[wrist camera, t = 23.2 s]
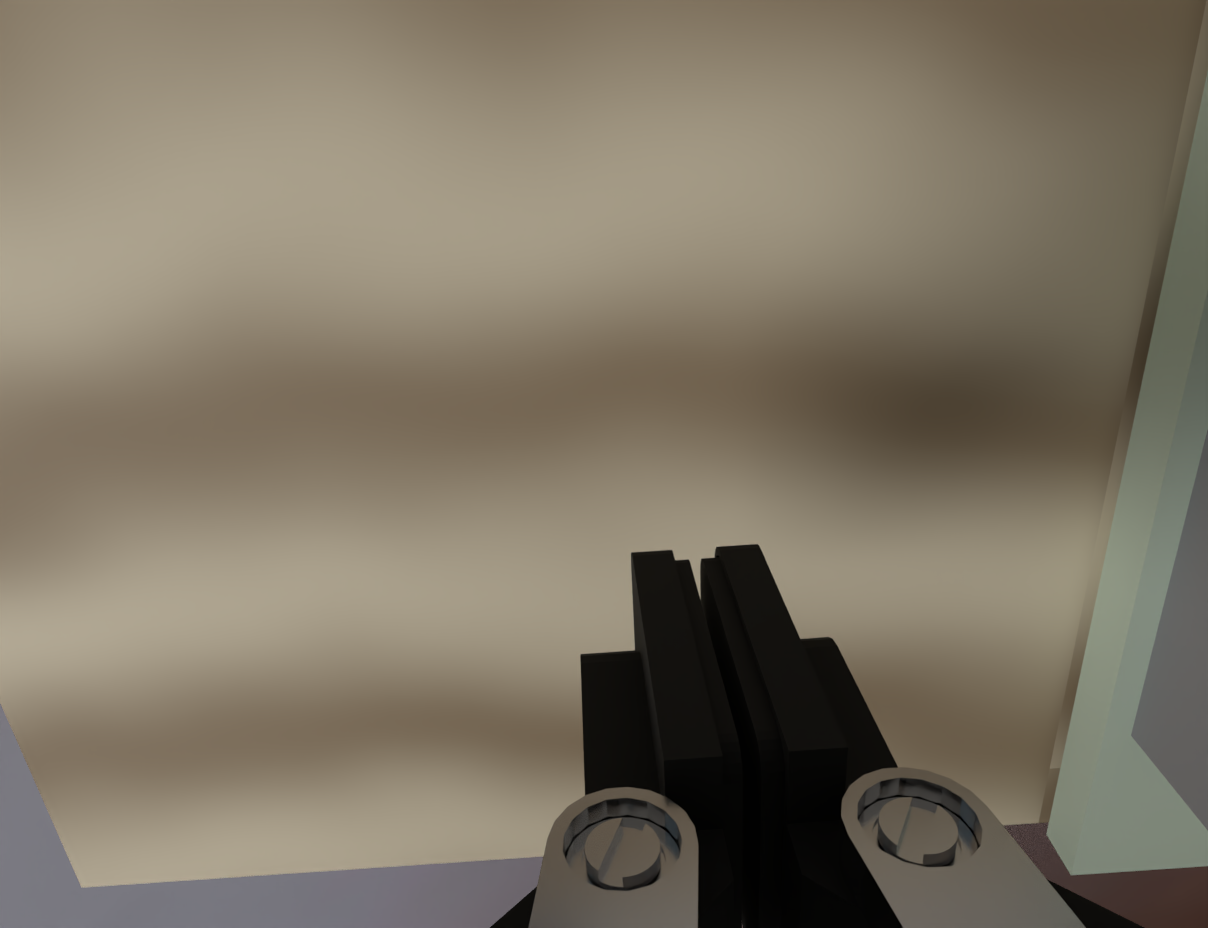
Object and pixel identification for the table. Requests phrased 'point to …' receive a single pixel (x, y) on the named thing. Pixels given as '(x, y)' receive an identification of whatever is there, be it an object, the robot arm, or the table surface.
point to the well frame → (549, 386)
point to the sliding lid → (1152, 601)
